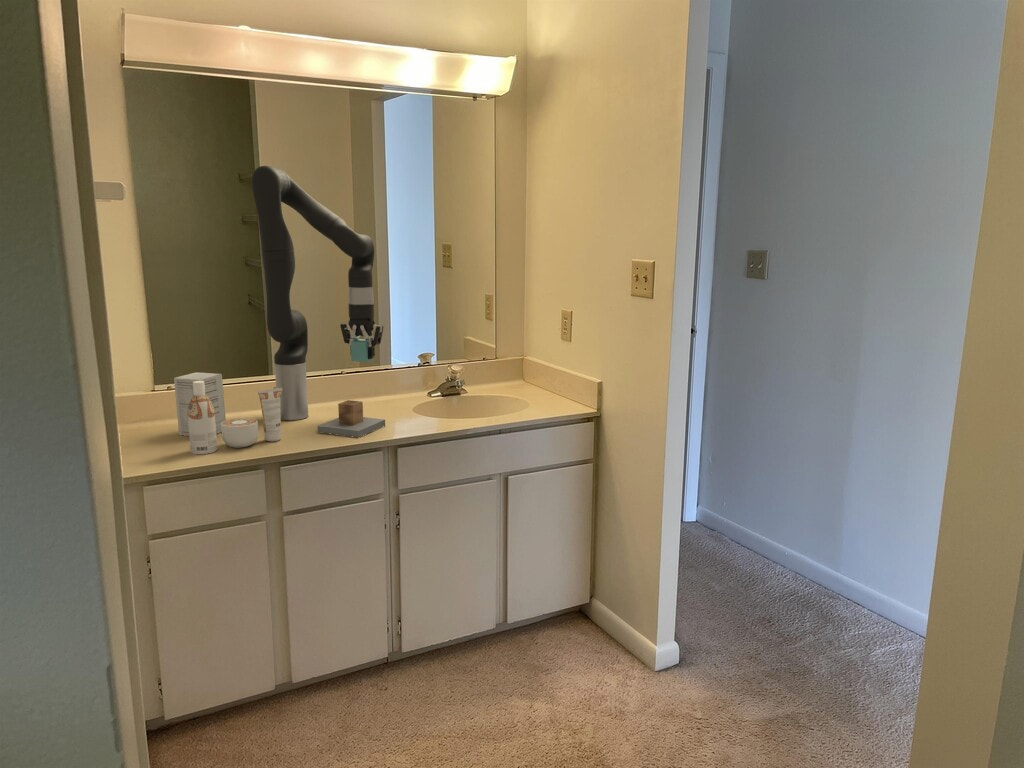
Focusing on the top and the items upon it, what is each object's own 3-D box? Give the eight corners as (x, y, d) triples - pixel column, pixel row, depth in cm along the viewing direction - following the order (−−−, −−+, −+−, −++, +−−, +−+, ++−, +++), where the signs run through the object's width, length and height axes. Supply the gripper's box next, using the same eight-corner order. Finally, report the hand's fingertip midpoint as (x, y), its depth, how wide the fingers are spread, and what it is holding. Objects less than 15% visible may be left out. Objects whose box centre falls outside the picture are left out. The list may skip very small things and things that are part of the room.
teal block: (351, 360, 224) (350, 341, 223) (360, 358, 228) (359, 339, 227) (365, 362, 222) (365, 342, 221) (374, 359, 227) (373, 340, 226)
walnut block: (339, 423, 216) (338, 403, 215) (348, 419, 220) (348, 400, 219) (353, 425, 214) (352, 405, 213) (363, 421, 219) (362, 401, 217)
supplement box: (227, 430, 216) (223, 373, 212) (205, 438, 207) (200, 379, 204) (201, 427, 219) (196, 371, 215) (177, 435, 210) (172, 377, 207)
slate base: (317, 432, 214) (317, 425, 213) (345, 421, 227) (345, 415, 226) (359, 437, 209) (358, 430, 208) (385, 425, 221) (385, 419, 221)
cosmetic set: (279, 434, 212) (275, 370, 208) (291, 442, 205) (287, 375, 201) (186, 449, 197) (180, 380, 193) (195, 457, 190) (189, 386, 186)
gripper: (333, 302, 221) (335, 358, 224) (375, 304, 216) (377, 361, 219) (347, 300, 228) (349, 354, 231) (388, 302, 223) (389, 358, 226)
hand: (362, 357), depth 225 cm, fingers closed on teal block, 5 cm apart
